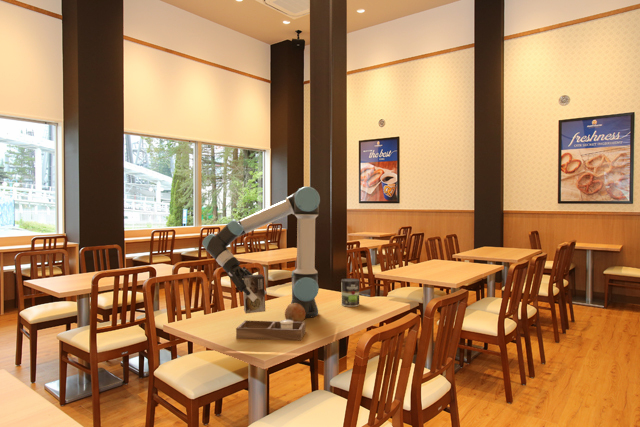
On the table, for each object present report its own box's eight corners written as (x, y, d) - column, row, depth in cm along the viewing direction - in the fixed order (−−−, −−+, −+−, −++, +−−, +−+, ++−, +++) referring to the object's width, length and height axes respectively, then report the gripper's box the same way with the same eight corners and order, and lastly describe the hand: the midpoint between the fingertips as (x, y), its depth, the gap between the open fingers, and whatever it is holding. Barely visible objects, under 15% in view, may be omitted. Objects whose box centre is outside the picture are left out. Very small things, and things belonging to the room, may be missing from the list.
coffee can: (362, 306, 228) (362, 280, 228) (344, 307, 225) (344, 281, 225) (356, 302, 238) (356, 277, 238) (339, 303, 235) (338, 278, 235)
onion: (308, 322, 196) (307, 301, 196) (302, 327, 187) (302, 305, 187) (288, 320, 199) (288, 300, 198) (282, 326, 189) (281, 304, 189)
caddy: (245, 331, 181) (244, 320, 181) (305, 333, 178) (305, 322, 178) (236, 340, 169) (236, 328, 169) (300, 342, 166) (300, 330, 166)
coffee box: (263, 308, 191) (262, 274, 191) (265, 311, 185) (264, 276, 185) (243, 310, 188) (242, 275, 188) (245, 313, 182) (244, 277, 182)
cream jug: (281, 333, 176) (281, 319, 176) (294, 333, 175) (294, 319, 175) (278, 337, 170) (278, 323, 170) (292, 337, 170) (291, 323, 170)
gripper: (235, 264, 202) (265, 297, 197) (210, 271, 180) (243, 308, 176) (244, 253, 200) (275, 286, 196) (220, 259, 178) (254, 296, 174)
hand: (260, 297), depth 186 cm, fingers closed on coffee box, 10 cm apart
